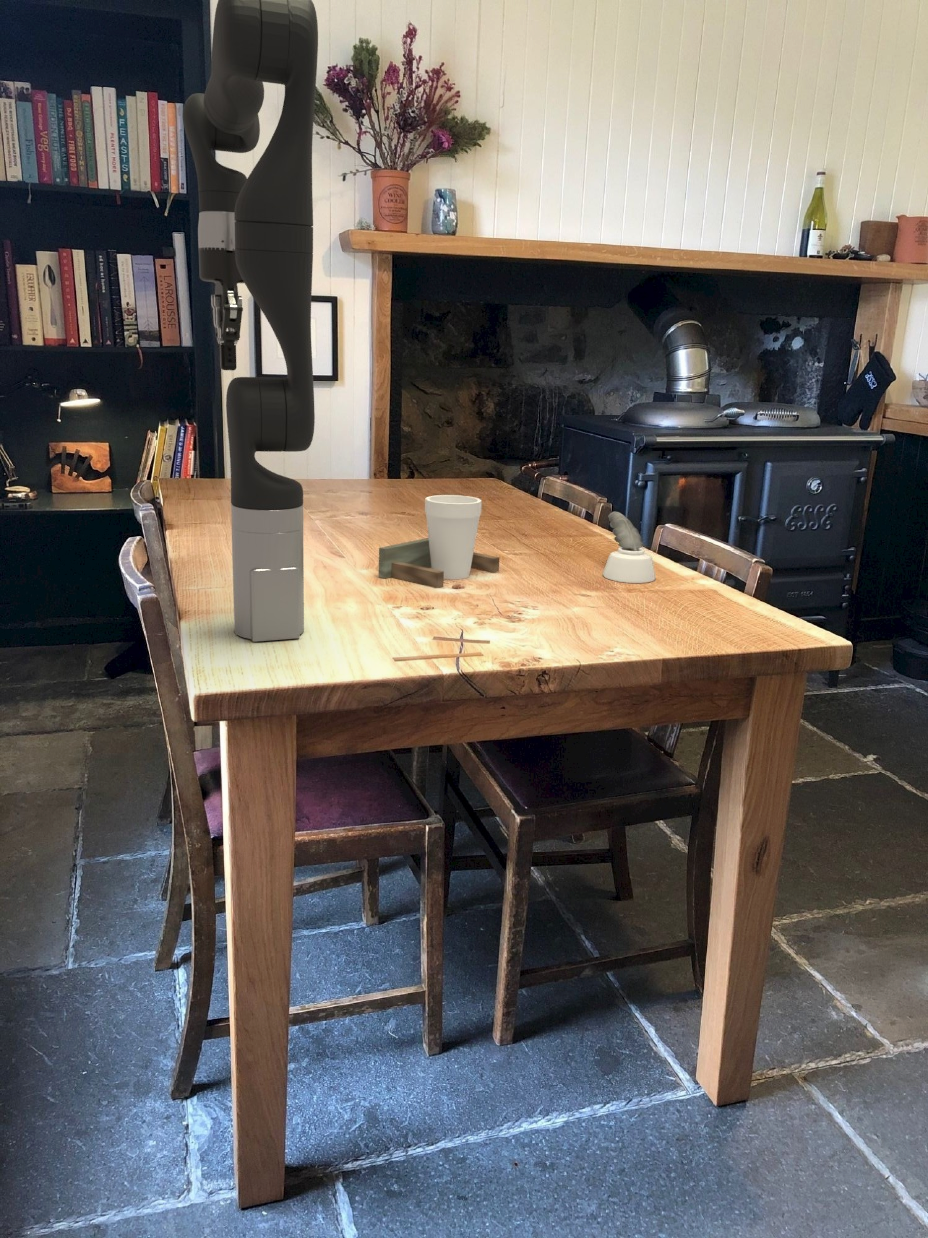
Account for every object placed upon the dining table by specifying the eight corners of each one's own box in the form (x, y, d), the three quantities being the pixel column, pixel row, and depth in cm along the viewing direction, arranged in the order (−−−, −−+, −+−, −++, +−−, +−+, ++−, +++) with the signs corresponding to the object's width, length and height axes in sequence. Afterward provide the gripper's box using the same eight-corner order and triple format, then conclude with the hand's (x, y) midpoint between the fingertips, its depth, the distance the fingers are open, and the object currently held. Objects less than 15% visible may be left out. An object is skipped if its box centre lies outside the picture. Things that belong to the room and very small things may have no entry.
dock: (503, 570, 173) (505, 542, 171) (431, 589, 157) (432, 559, 156) (452, 559, 179) (453, 532, 178) (378, 577, 164) (379, 547, 163)
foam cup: (447, 566, 174) (449, 493, 170) (488, 575, 168) (492, 500, 165) (412, 574, 167) (414, 498, 163) (454, 584, 161) (457, 505, 158)
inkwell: (613, 584, 166) (618, 526, 163) (578, 560, 183) (581, 507, 180) (664, 583, 168) (670, 525, 165) (624, 560, 185) (628, 507, 182)
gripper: (192, 248, 147) (196, 367, 152) (205, 242, 136) (209, 371, 140) (242, 252, 150) (245, 368, 155) (259, 246, 138) (261, 372, 143)
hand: (228, 369), depth 148 cm, fingers closed
